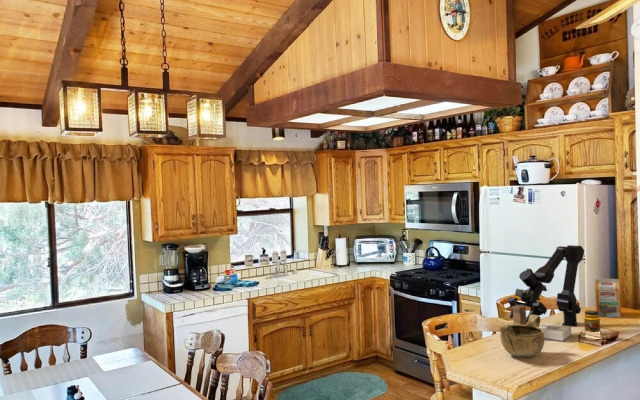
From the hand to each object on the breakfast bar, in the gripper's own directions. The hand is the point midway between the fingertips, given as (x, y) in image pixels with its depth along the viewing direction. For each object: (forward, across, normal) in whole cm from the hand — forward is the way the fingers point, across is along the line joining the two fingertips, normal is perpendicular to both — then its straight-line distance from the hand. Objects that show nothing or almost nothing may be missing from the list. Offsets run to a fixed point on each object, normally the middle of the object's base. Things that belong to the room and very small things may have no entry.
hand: (518, 319), depth 235 cm
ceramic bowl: (+20, +20, -8) cm, 30 cm away
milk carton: (-40, 0, +51) cm, 65 cm away
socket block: (-3, +9, +14) cm, 17 cm away
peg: (+5, 0, +6) cm, 8 cm away
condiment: (-10, +20, +22) cm, 31 cm away
